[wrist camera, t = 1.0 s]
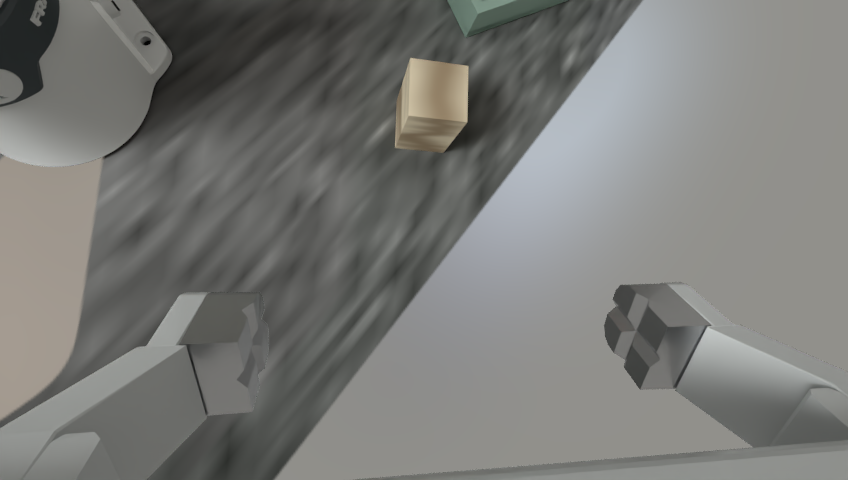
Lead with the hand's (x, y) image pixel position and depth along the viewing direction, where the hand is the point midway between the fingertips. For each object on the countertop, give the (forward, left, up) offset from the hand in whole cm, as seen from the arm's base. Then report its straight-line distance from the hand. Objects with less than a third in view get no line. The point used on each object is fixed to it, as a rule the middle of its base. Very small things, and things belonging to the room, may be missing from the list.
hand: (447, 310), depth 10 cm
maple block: (-13, +13, -31) cm, 35 cm away
